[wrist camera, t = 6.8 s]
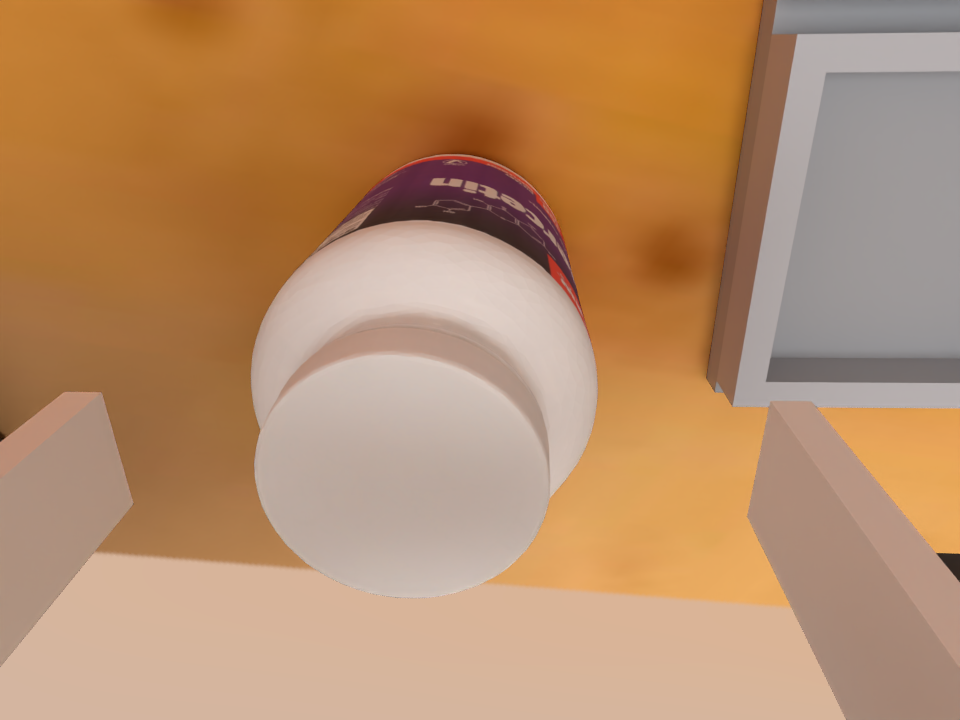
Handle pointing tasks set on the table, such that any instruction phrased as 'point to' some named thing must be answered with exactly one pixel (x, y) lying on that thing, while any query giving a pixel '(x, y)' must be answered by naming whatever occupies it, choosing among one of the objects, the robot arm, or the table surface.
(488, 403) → the pill bottle
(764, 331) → the grey compartment tray
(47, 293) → the table surface
